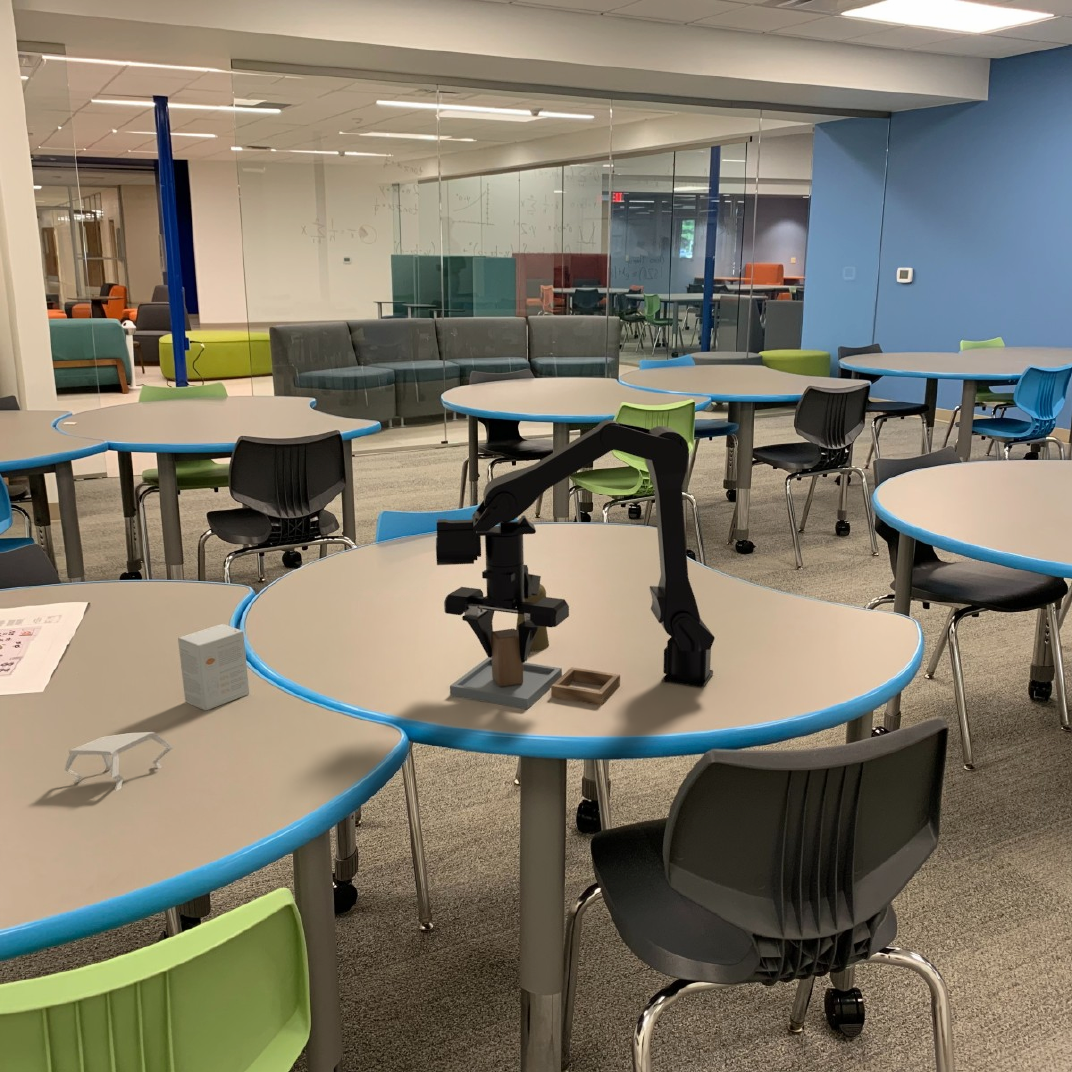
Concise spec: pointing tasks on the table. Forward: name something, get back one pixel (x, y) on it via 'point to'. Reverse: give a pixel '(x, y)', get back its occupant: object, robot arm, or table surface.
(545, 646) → the olive pawn piece
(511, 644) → the wooden block
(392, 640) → the table surface
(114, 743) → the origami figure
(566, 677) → the walnut collar
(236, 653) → the small box
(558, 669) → the slate tray
